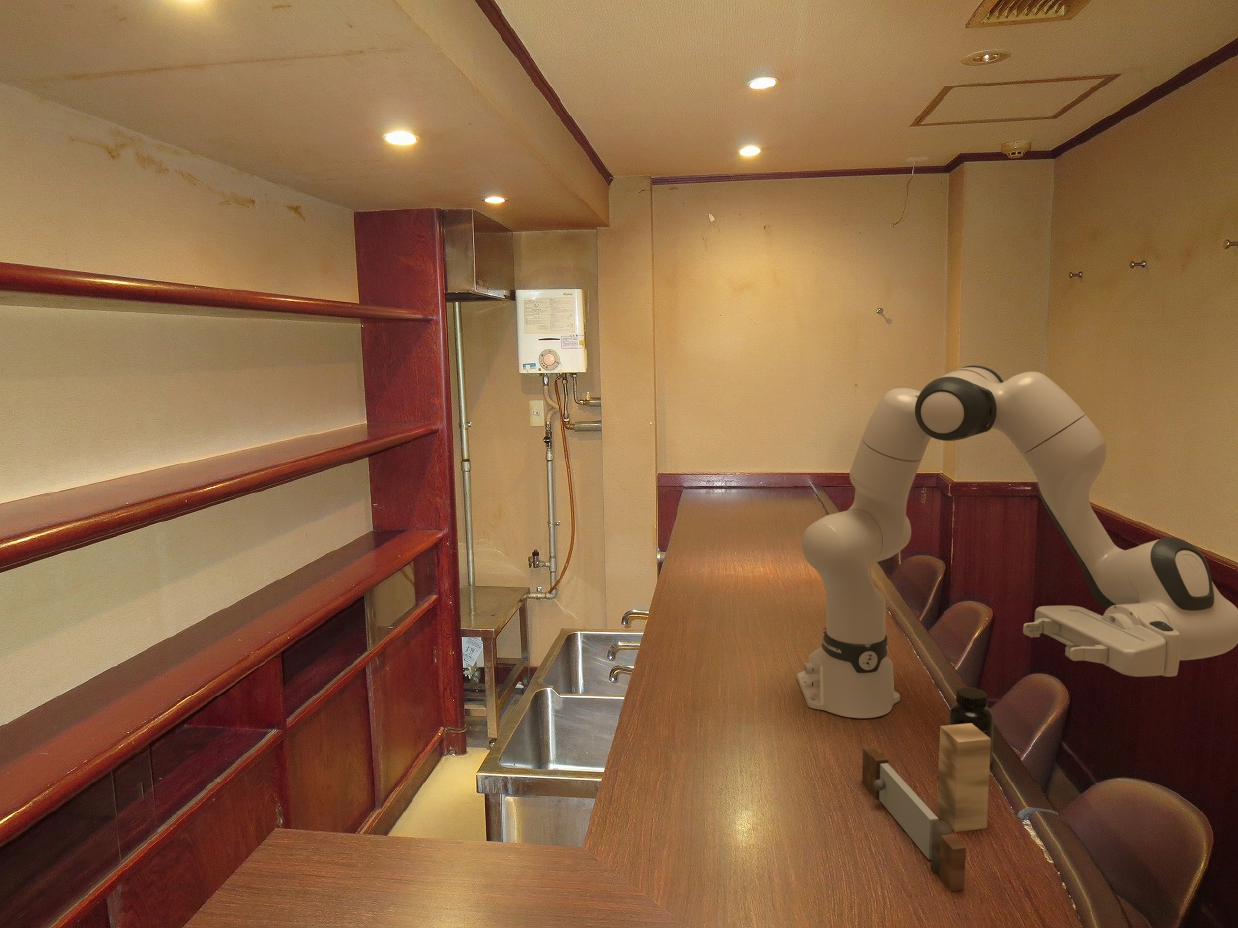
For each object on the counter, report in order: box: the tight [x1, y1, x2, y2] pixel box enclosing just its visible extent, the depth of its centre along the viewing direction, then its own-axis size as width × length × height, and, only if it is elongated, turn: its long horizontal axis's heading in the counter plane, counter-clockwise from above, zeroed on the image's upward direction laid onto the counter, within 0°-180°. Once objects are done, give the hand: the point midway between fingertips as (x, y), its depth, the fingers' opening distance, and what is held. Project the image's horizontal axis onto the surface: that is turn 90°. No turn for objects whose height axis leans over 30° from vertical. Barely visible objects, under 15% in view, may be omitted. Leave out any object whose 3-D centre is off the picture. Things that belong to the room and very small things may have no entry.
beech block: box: [936, 723, 991, 833], centre depth 121 cm, size 5×5×14 cm
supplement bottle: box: [948, 687, 994, 765], centre depth 138 cm, size 7×7×12 cm
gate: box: [874, 762, 939, 861], centre depth 119 cm, size 15×3×6 cm, turn 8°
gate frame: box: [861, 746, 967, 892], centre depth 119 cm, size 27×2×6 cm, turn 8°
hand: (1046, 641), depth 119 cm, fingers open, 8 cm apart
